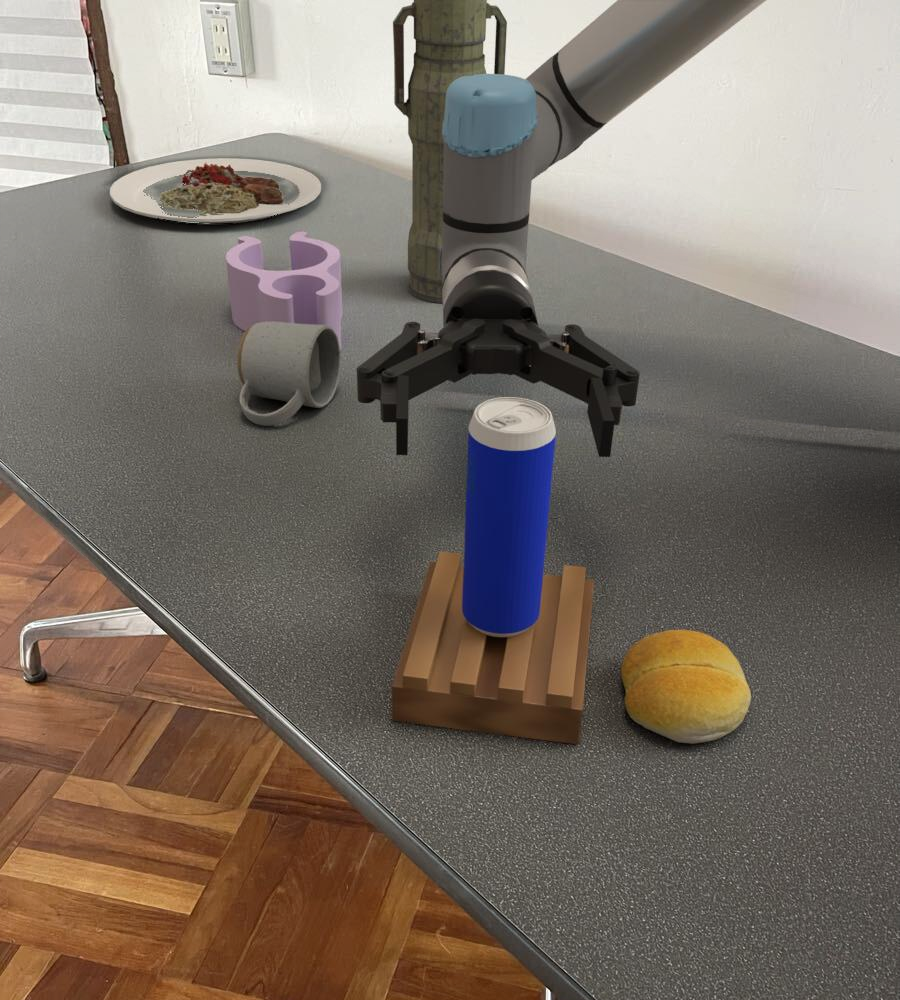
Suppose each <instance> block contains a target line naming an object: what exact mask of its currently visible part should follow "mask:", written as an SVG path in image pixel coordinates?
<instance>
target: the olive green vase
mask: <svg viewBox="0 0 900 1000" xmlns="http://www.w3.org/2000/svg"><path fill="white" fill-rule="evenodd" d="M408 17H413V39H414V40H415V51H414V53H413V66H412V70H411V73H410V77H409V79H408V84H407V99H406V100H405V23H406V21H407V19H408ZM492 17H494V18H495V42H494V43H495V44H494V45H495V46H494V67H493V71H494V72H493V74H504V75H506V73H505V72H506V54H507V53H506V52H507V50H506V49H507V31H508V30H507V29H508V21H507V19H506V17H505V16H504V14H503V13H502V11H501V9H500V8H499V7H498V6H497V5H491V4H490V3H489V2H488V0H413V2H412V3H411V4H410V5H407V6H403V7H401V9H400V10H399V12H398V13H397V15H396V16H395V18H394V19H393V21H392V36H393V66H394V67H393V70H394V71H393V75H394V77H393V78H394V80H393V81H394V82H393V83H394V85H393V86H394V87H393V88H394V90H393V91H394V92H393V93H394V99H393V100H394V101H393V102H394V103H393V104H394V105H395V107H396V108H397V109H398V110H399V112H401V114H403V116H406V117H407V135H408V137H409V139H410V143H411V147H412V150H411V151H412V158H411V159H412V165H411V166H412V170H411V171H412V172H411V173H412V174H411V175H412V177H411V179H412V180H411V181H412V182H411V183H412V187H411V189H412V191H411V192H412V195H411V196H412V197H411V198H412V199H411V201H412V203H411V205H412V206H411V207H412V213H411V214H412V217H411V218H412V222H411V225H410V228H409V231H408V240H407V270H408V272H409V285H408V290H410V291H409V293H410V294H411V293H412V294H413V295H415V296H416V297H418V298H421V299H423V300H422V301H424V300H426V301H425V302H428V301H430V302H429V303H433V302H437V303H436V304H443V298H442V289H443V283H442V277H441V275H440V266H439V264H440V249H441V246H442V217H443V140H444V138H443V135H442V129H443V128H442V124H443V121H444V116H445V103H446V93H447V89H448V87H449V85H450V84H451V83H452V82H453V81H454V80H456V79H458V78H460V77H463V76H473V75H474V74H487V71H486V70H487V69H486V67H485V65H486V63H485V62H486V60H485V59H486V54H484V42H486V38H487V37H486V34H487V33H486V32H487V19H491V20H492ZM412 294H411V295H412ZM413 295H412V296H413ZM415 296H414V297H415ZM416 297H415V298H416ZM418 298H417V299H418ZM421 299H420V300H421Z"/></svg>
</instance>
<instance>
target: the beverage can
mask: <svg viewBox="0 0 900 1000" xmlns="http://www.w3.org/2000/svg"><path fill="white" fill-rule="evenodd" d="M467 430H468V432H467V460H466V485H465V486H466V488H465V518H464V541H463V542H464V544H463V546H464V547H463V565H464V568H463V596H462V612H463V615H464V617H465V618H466V620H467V621H468V622H469V623H470V624H471V626H472V627H474V628H475V629H476V630H478V631H479V632H481V633H483V634H486V635H489V636H493V637H511V636H515V635H519V634H521V633H523V632H525V631H526V630H528V629H529V628H530V627H531V626H532V625H533V624H534V623H535V622H536V621H537V619H538V617H539V613H540V603H541V592H542V581H543V574H544V571H545V558H546V547H547V535H548V524H549V514H550V513H549V512H550V502H551V491H552V481H553V472H554V471H553V469H554V461H555V460H554V458H555V448H556V435H557V430H556V425H555V422H554V418H553V414H552V412H551V410H550V409H549V408H548V407H546V406H545V405H544V404H542V403H541V402H538V401H535V400H533V399H528V398H524V397H515V396H506V397H505V396H502V397H494V398H491V399H487V400H486V401H483V402H480V403H479V404H478V405H477V406H476V407H475V409H474V411H473V414H472V417H471V418H470V421H469V424H468V429H467ZM543 570H544V571H543Z"/></svg>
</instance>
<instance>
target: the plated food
mask: <svg viewBox="0 0 900 1000" xmlns="http://www.w3.org/2000/svg"><path fill="white" fill-rule="evenodd" d="M234 171H248V172H257V173H258V172H259V173H265V174H270V175H275V176H278V177H281V178H285V179H287V180H289V181H291V182H293V183H294V184H295V185H297V187H298V189H299V192H300V193H299V196H298V198H297V199H296V200H295V201H294V202H292V203H290V204H289V205H288V204H285V203H282V202H283V201H284V199H283V197H282V194H283V193H281V191H280V189H278V188H279V187H280V186H279V184H278V183H277V182H276V181H275V180H274V179H270V178H263V177H250V176H249V177H244V178H243V177H241V176H239V175H238V174H235V172H234ZM189 173H191V174H190V176H188V175H187V174H189ZM179 175H183V177H182V183H184V184H185V183H186V185H184V184H183V185H182V187H178V188H174V189H172V190H169V191H165V192H162V193H161V195H160V200H159V201H161V202H162V203H161V205H162V206H168V205H170V206H172V207H173V208H174V209H176V208H177V209H180V208H182V210H187V209H193V208H194V209H196V210H197V209H198V210H201V211H202V213H201V214H199V215H198V216H199V217H197V216H196V217H197V218H195V217H194V218H187V217H181V216H180V217H178V216H173V215H172V216H170V215H167V213H166V214H165V212H164V211H163V210H162V209H161V208H160V207H161V206H159V205H158V203H157V202H156V200H153V199H154V198H153V197H152V198H153V199H151V197H150V195H149V194H148V195H149V196H147V195H146V193H144V192H143V190H144V189H146V187H148V186H150V185H152V184H154V183H156V182H158V181H161V180H163V179H167V178H171V177H174V176H179ZM186 175H187V176H186ZM321 191H322V183H321V181H320V180H319V178H318V177H317V176H315V175H314V174H313V173H311V172H309V171H308V170H305V169H302V168H300V167H297V166H293V165H291V164H287V163H282V162H277V161H270V160H262V159H251V158H237V157H236V158H235V157H234V158H233V157H231V158H228V157H227V158H225V157H222V158H221V157H219V158H197V159H188V160H179V161H172V162H171V161H170V162H165V163H160V164H157V165H152V166H146V167H144V168H141V169H138V170H135V171H132V172H130V173H127V174H125V175H123V176H121V177H119V178H118V179H117V180H116V181H114V182H113V183H112V185H111V187H110V188H109V196H110V199H111V200H112V202H113V203H114V204H115V205H117V206H118V207H120V208H122V210H125V211H128V212H130V213H133V214H135V215H136V214H137V215H140V216H144V217H148V218H153V219H158V218H159V220H163V219H166V220H165V221H167V220H174V221H188V222H199V223H233V224H241V222H242V223H248V222H249V221H250V222H254V221H261V220H265V219H269V218H271V216H272V217H275V216H278V215H280V214H284V213H288V212H291V211H294V210H297V209H299V208H301V207H304V206H307V205H309V204H310V203H311V202H313V201H314V200H316V199H317V197H319V195H320V194H321V193H322V192H321ZM144 195H145V196H144ZM284 202H285V201H284ZM162 208H163V207H162ZM162 212H163V213H162ZM206 213H207V214H206ZM208 213H209V214H208ZM277 214H278V215H277ZM200 215H201V216H200ZM274 215H275V216H274Z"/></svg>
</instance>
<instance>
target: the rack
mask: <svg viewBox="0 0 900 1000" xmlns="http://www.w3.org/2000/svg"><path fill="white" fill-rule="evenodd" d="M462 555H463V554H462V553H460V552H451V551H443V550H440V551H439V553H438V556H437V560H436V561H430V562H429V565H428V567H427V571H426V575H425V578H424V581H423V584H422V588H421V591H420V593H419V597H418V600H417V602H416V603H417V604H416V605H415V610H414V613H413V616H412V620H411V623H410V627H409V628H408V632H407V635H406V640H405V642H404V645H403V649H402V652H401V655H400V659H399V661H398V665H397V667H396V668H397V669H396V672H395V674H394V679H393V682H392V684H391V716H392V717H391V718H392V719H391V720H392V722H399V723H400V722H401V723H408V724H414V725H423V726H431V727H438V728H447V729H453V730H461V731H469V732H475V733H476V732H477V733H486V734H493V735H500V736H509V737H516V738H524V739H530V740H531V739H533V740H541V741H548V742H556V743H563V744H571V745H578V744H579V743H580V742H579V741H580V735H581V734H580V733H581V726H582V718H583V710H584V699H585V690H586V678H587V667H588V666H587V665H588V657H589V656H588V655H589V646H590V636H591V635H590V634H591V624H592V623H591V622H592V614H593V613H592V611H593V602H594V600H593V599H594V590H595V579H591V578H586V574H587V573H586V572H587V567H586V566H580V565H570V564H563V568H562V575H555V574H548V573H547V574H546V573H543V581H542V592H541V603H540V613H539V617H538V619H537V621H536V622H535V623H534V624H533V625H532V626H531V627H530V628H529V629H528V630H526V631H525V632H523V633H521V634H519V635H515V636H511V637H493V636H489V635H486V634H483V633H481V632H479V631H478V630H476V629H475V628H474V627H472V626H471V624H470V623H469V622H468V621H467V620H466V618H465V617H464V615H463V612H462V596H463V568H464V564H462V557H463V556H462ZM544 571H545V569H544V570H543V572H544Z"/></svg>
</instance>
